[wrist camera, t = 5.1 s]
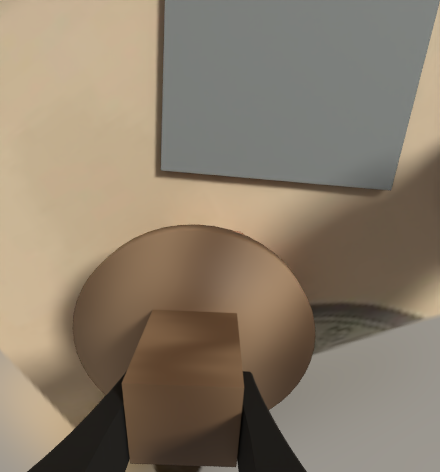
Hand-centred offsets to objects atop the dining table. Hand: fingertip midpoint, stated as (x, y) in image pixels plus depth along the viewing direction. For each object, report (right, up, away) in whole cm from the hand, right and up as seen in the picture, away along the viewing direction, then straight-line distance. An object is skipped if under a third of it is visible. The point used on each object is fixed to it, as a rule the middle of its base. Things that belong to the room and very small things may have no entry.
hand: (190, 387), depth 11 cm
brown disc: (0, +2, +2) cm, 3 cm away
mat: (+5, +17, +3) cm, 18 cm away
